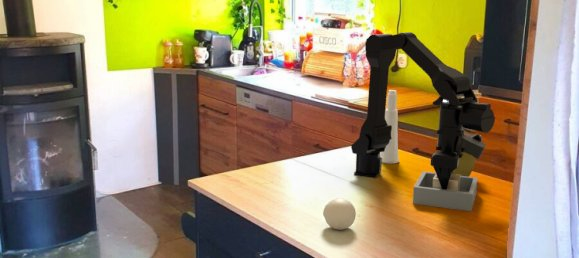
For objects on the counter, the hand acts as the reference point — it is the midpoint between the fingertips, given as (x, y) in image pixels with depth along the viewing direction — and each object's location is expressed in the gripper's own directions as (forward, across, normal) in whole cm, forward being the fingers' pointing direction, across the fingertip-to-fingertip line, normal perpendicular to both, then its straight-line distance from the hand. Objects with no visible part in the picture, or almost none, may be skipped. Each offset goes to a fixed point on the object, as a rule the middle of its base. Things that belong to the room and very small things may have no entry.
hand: (446, 185), depth 153 cm
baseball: (+4, -29, +20) cm, 35 cm away
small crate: (+3, 0, 0) cm, 3 cm away
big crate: (+4, 0, 0) cm, 4 cm away
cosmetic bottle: (+4, +28, +20) cm, 35 cm away
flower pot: (+4, +19, -1) cm, 19 cm away
